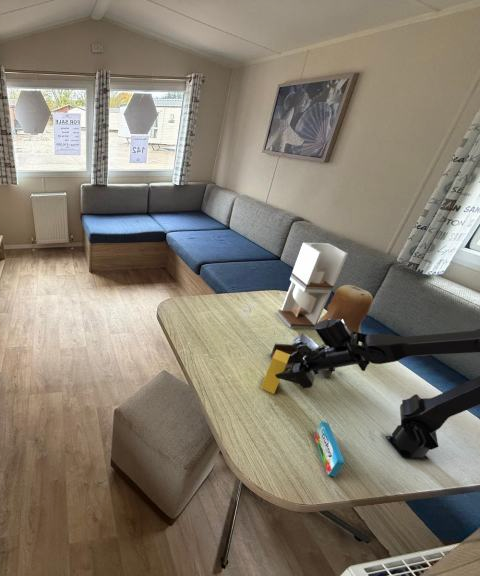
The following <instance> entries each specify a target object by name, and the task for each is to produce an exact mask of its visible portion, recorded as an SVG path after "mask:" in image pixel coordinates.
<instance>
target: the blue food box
mask: <svg viewBox="0 0 480 576" xmlns="http://www.w3.org/2000/svg"><path fill="white" fill-rule="evenodd" d="M313 438H314V440H315V443H316V446H317V449H318V452H319V455H320V457H321V461H322V464H323V466H324V469H325V471H326V474H327V476H330V477H333V478H336V477H337V476H338V474H339V472H340V471H341V470H342V468H343V466H344V465H345V459H344V457H343V454H342V453H341V450H340V448H339V445H338V442H337V440H336V438H335V435H334V433H333V431H332V428H331V425H330V423H329V422H327V421H322V420H321V421H320V423H319V425H318V426H317V428H316V430H315V432H314V433H313Z"/></svg>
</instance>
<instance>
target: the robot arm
mask: <svg viewBox="0 0 480 576" xmlns="http://www.w3.org/2000/svg"><path fill="white" fill-rule="evenodd" d="M318 322H319V321H318ZM314 328H315V329H314V330H315V331H316V333H317V335H318V334H319V335H318V337H319V336H320V337H321V338H320V337H319V338H320V339H321V341H322V342H323V345H322V344H321V345H318V343H316V342H315V341H314V340H313V339H311V338H310V337H309V336H308V335H306V334H305V333H301V334H299V335H298V336H296V337H295V338H293V341H292V342H291V345H292V346H293V347H294V348H295V349H297V351H296V352H294V353H292V354H291V355H290V357H289V359H288V362H287V363H297V364H295V365H292V367H291V369H288V370H287V371H284V372H281V373H278V374H275V376H276V378H279V379H280V380H283V381H285V382H286V381H287V382H291V383H294V384H297V385H299V386H300V387H301V388H302V389H303V390H307V389H312V386H313V384H314V383H315V377H314V375H319V374H320V372H321V371H322V370H327V369H329V370H330V371H331V372H332V373H333V372H336V369H339V368H342V367H343V368H344V367H349V366H355V365H358V367H359V369H360V371H362V372H366V369H367V367H368V366H369V365H370V364H373V365H383V364H390V363H395V362H398V361H401V360H404V359H406V358H411V357H420V356H421V357H422V356H441V355H456V354H460V355H461V354H475V353H477V354H478V353H480V328H477V329H474V330H468V331H467V330H466V331H458V332H457V331H456V332H446V333H445V332H443V333H433V334H423V335H411V336H400V335H394V334H389V333H386V334H385V333H371V334H368V333H363V332H361V333H359V332H355V331H350V332H349V330H348V329H347V327H346V325H345V323H344V321H343V319H338V320H336V319H326V320H323V321H321V322H319V323H317V324H316V325H315V326H314ZM360 343H361V344H360ZM303 363H304V364H303ZM312 372H313V374H314V375H313V374H312ZM479 406H480V375H478V376H477V377H474V378H472V379H470V380H468V381H465V382H463V383H461V384H459V385H457V386H455V387H453V388H450V389H448V390H446V391H444V392H441V393H439V394H438V395H435V396H433V397H431V398H430V397H428V398H424V397H423V398H422V397H421V396H420V395H418V394H413V395H412V396H410V397H409V398H406V399H402V400H401V403H400V405H399V414H400V416H399V417H400V425H399V424H398V425H397V426H396V428H395V429H394V430H393V432H392V433H391V435H386V436H385V439H386V440H387V441H388V442H389V444H390V445H391V446H392V447H393V449H394V450H395V451H396V452H397V453H398V455H399V456H400V457H401V458H402V459H405V460H416V461H417V460H418V461H428V460H429V457H428V456H427V454H428V453H429V452H430V450H435V449H437V448H439V441H438V436H437V431H438V430H439V429H441V428H442V426H444V424H445V423H446V422H447V420H449V418H451V417H454V416H456V415H459V414H461V413H463V412H466V411H468V410H471V409H473V408H475V407H479Z"/></svg>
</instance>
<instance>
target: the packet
mask: <svg viewBox="0 0 480 576" xmlns="http://www.w3.org/2000/svg"><path fill="white" fill-rule="evenodd" d="M289 357H290V354H287V353H284V352H282V351H279V350H276V352H275V354H274V356H273V358H271V361H270V363H269V366H268V369H267V371H266V374H265V377H264V379H263V381H262V384H261V386H260V389H262V390H263V391H267V392H268V393H270V394H272V395H275V393H276V390H277V388H278V386H279V384H280V381H281V379H279V378H276V376H275V374H278V373H281V372H284V369H285V367H286V364H287V362H288V359H289Z"/></svg>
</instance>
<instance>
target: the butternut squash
mask: <svg viewBox="0 0 480 576" xmlns="http://www.w3.org/2000/svg"><path fill="white" fill-rule="evenodd" d="M372 304H373V296H372V294H371V293H370V291H368V290H366V289H363V288H360V287H358V286H356V285H353V284H344V285H341V286H340V287H338V288H337V289H336V291H334V294H333V296H332V298H331V300H330V301H329V303H328V305H327V306H326V312H325V314H324V315H323V316H322V317H320V318H319V320H318V323H319V322H321V321H323V320H326V319H336V320H338V319H343V321H344V323H345V325H346V327H347V329H348V330H349V332H350V331H355V332H359V333H362V332H361V324H362V322H363V321H364V320H365V318H367V316H368V314H369V312H370V309H371V306H372ZM317 336H318V337H319V338H320V339H321V337H320V336H319V334H318V333H317Z"/></svg>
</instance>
